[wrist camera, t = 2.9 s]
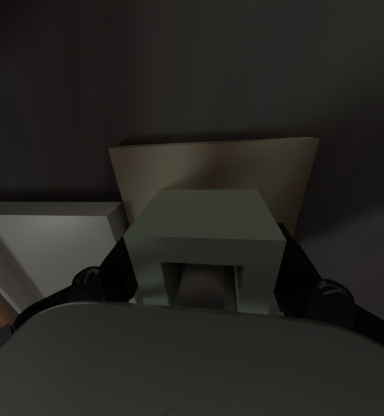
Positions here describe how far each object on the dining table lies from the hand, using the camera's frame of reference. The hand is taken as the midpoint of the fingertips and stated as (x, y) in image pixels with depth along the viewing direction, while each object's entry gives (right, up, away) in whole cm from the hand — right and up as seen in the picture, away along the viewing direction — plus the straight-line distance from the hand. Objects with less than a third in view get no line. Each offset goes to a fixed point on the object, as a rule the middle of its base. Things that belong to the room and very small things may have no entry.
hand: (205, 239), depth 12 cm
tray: (-14, -4, +7) cm, 16 cm away
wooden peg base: (0, +1, +2) cm, 2 cm away
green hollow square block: (0, +1, +1) cm, 1 cm away
